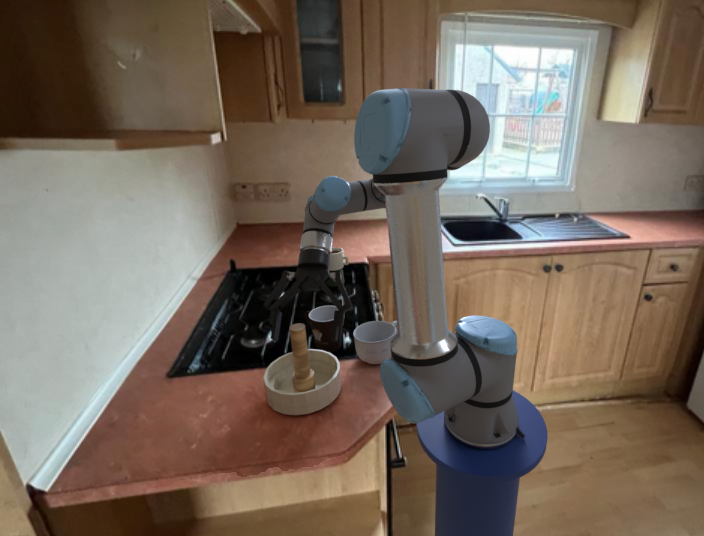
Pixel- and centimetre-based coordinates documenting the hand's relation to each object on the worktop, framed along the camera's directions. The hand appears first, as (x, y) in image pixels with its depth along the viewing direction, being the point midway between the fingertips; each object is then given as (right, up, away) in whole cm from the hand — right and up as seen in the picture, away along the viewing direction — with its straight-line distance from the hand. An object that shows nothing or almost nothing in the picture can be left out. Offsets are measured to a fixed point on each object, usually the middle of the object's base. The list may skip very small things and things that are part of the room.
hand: (304, 340), depth 92 cm
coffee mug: (+1, -5, +19) cm, 20 cm away
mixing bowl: (0, -12, +1) cm, 12 cm away
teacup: (+16, -7, +14) cm, 23 cm away
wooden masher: (0, -11, +1) cm, 11 cm away
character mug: (-4, +8, +55) cm, 56 cm away
